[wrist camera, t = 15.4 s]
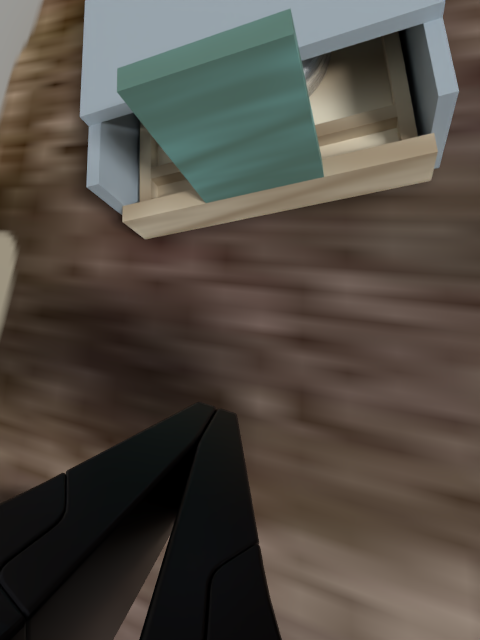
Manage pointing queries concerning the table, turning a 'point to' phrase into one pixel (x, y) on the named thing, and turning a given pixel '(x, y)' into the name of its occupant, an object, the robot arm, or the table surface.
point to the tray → (267, 127)
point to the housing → (224, 14)
